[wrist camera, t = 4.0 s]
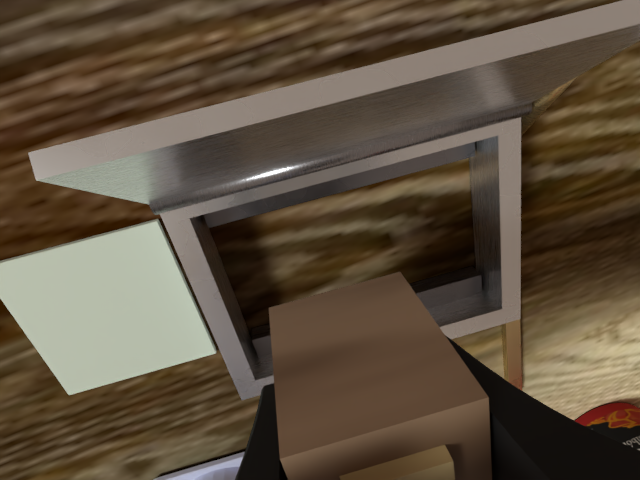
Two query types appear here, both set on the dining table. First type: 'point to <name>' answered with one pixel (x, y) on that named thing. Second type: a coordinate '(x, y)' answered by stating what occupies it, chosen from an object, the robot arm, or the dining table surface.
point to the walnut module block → (374, 389)
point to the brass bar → (512, 353)
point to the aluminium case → (435, 293)
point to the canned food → (615, 422)
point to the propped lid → (343, 114)
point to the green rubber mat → (106, 307)
